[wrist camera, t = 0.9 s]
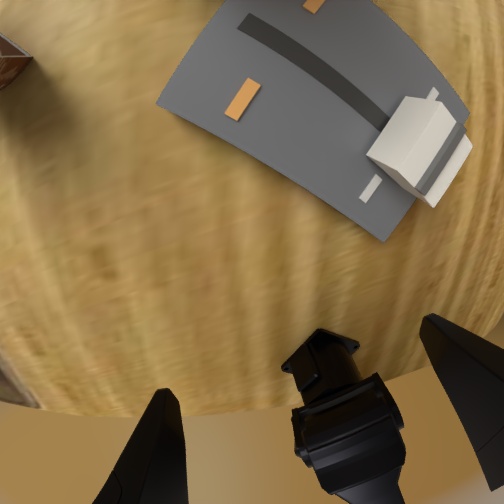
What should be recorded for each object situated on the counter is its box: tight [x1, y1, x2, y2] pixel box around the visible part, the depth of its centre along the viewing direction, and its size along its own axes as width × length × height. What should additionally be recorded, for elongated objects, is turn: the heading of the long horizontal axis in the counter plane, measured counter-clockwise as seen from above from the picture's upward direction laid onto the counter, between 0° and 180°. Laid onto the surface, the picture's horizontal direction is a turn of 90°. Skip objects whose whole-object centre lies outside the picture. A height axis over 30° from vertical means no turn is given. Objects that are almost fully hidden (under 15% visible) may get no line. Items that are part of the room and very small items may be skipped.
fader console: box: [156, 0, 470, 243], centre depth 16 cm, size 18×13×3 cm
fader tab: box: [366, 96, 473, 208], centre depth 15 cm, size 4×5×4 cm
